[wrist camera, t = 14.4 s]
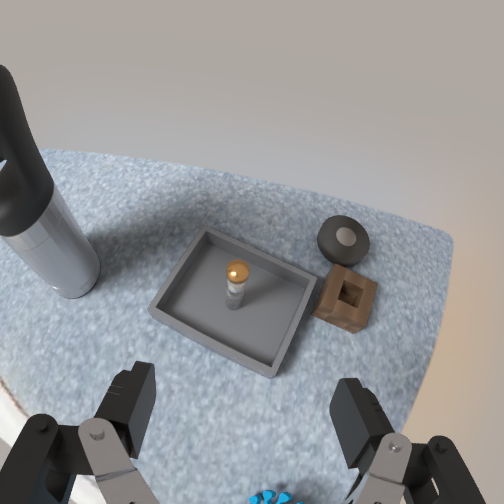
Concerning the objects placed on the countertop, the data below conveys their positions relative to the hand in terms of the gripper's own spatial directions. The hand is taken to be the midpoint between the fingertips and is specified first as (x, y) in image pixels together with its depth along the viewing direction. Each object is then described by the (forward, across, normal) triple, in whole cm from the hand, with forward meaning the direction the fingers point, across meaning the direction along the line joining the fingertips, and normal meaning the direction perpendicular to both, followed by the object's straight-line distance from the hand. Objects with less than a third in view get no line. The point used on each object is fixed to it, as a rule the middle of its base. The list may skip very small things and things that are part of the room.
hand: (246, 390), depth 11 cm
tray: (+27, 0, +9) cm, 29 cm away
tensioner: (+32, -15, +5) cm, 35 cm away
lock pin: (+27, 0, +9) cm, 28 cm away
